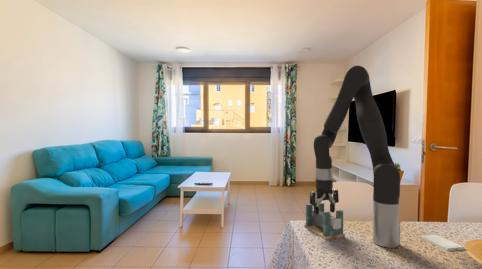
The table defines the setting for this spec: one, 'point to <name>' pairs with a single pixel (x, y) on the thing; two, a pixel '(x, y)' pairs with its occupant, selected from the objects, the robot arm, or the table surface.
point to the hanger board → (324, 223)
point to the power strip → (319, 220)
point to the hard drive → (442, 242)
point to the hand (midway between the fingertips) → (324, 213)
